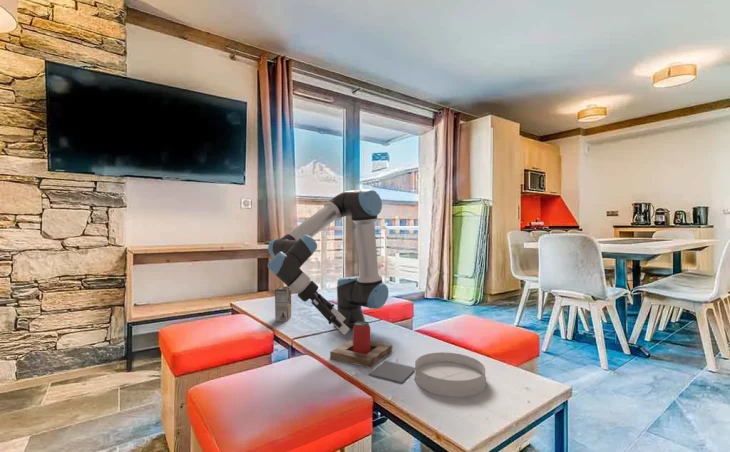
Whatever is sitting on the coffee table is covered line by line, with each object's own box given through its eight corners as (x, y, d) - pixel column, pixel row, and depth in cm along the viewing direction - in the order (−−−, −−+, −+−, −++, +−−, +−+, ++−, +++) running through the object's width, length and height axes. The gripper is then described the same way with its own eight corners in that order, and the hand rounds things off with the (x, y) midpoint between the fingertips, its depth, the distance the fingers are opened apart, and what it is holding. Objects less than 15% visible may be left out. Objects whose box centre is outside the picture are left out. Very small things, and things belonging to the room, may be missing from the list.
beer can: (368, 358, 130) (368, 326, 130) (351, 357, 132) (351, 325, 132) (371, 352, 137) (371, 321, 137) (355, 350, 138) (355, 320, 138)
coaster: (385, 362, 127) (385, 361, 127) (416, 369, 121) (416, 367, 121) (368, 375, 117) (368, 373, 117) (401, 383, 111) (401, 382, 111)
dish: (400, 375, 117) (400, 360, 117) (451, 361, 128) (451, 347, 128) (447, 405, 98) (447, 387, 98) (501, 386, 109) (501, 370, 109)
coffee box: (279, 316, 188) (279, 286, 187) (291, 316, 188) (291, 286, 187) (274, 321, 179) (274, 289, 178) (287, 321, 178) (287, 289, 178)
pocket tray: (354, 343, 146) (354, 337, 146) (391, 351, 137) (391, 345, 137) (330, 357, 131) (330, 351, 131) (370, 367, 123) (370, 360, 123)
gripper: (297, 288, 142) (335, 323, 144) (295, 302, 117) (341, 345, 120) (311, 274, 142) (348, 310, 145) (311, 286, 118) (356, 328, 120)
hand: (345, 326), depth 132 cm, fingers open, 13 cm apart
